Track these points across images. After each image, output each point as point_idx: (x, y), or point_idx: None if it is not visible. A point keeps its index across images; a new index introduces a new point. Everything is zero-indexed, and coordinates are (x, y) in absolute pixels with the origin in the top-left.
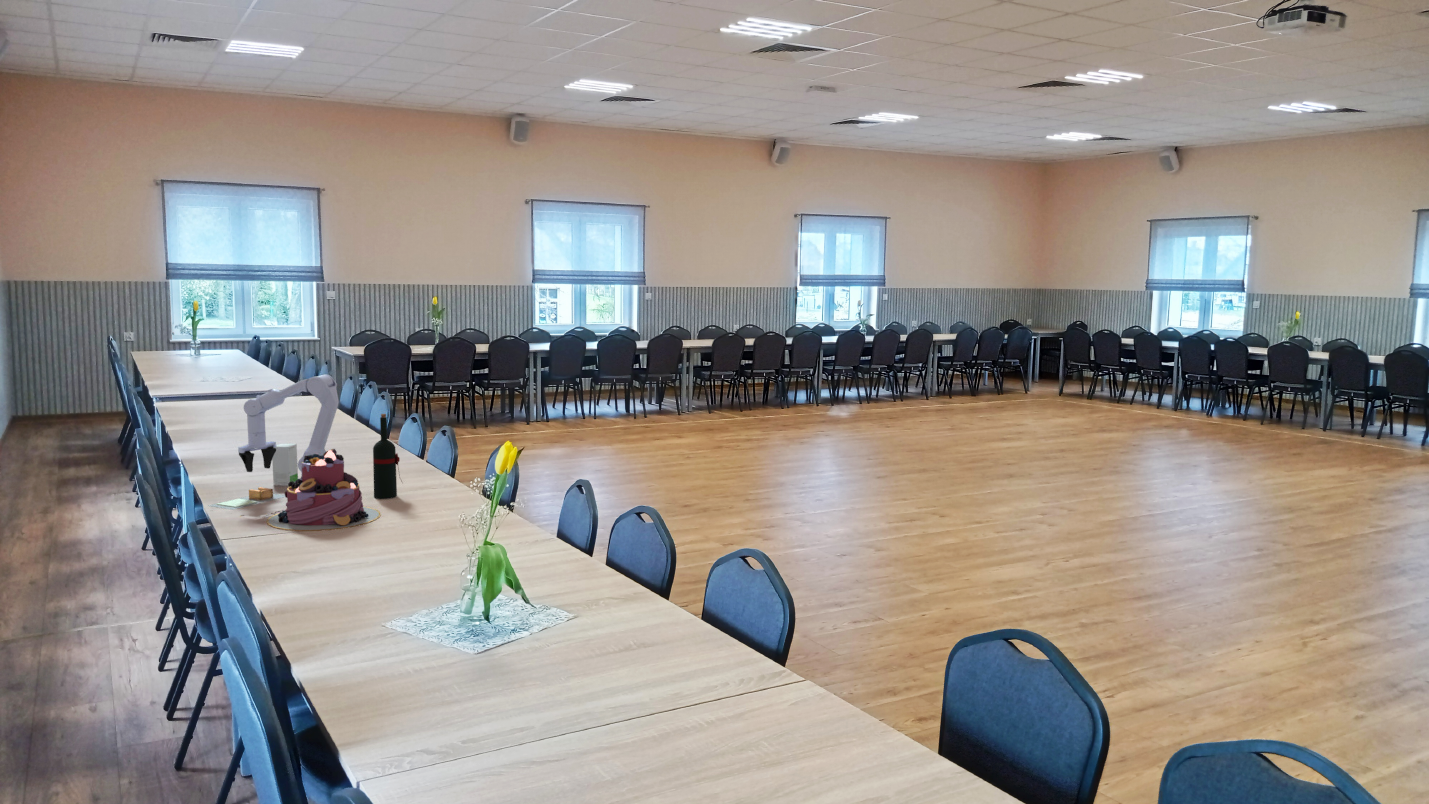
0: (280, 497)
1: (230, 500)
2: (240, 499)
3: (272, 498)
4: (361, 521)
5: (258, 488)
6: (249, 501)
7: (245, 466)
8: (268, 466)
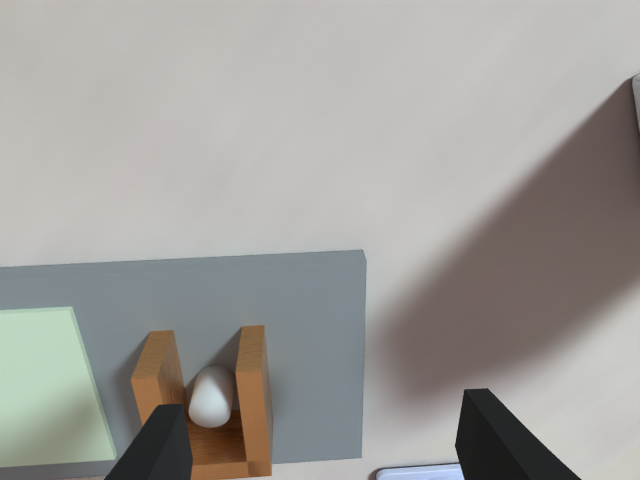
0: (295, 455)
1: (5, 283)
2: (63, 340)
3: None
4: None
5: (236, 373)
6: (75, 428)
7: (117, 468)
8: (465, 468)
